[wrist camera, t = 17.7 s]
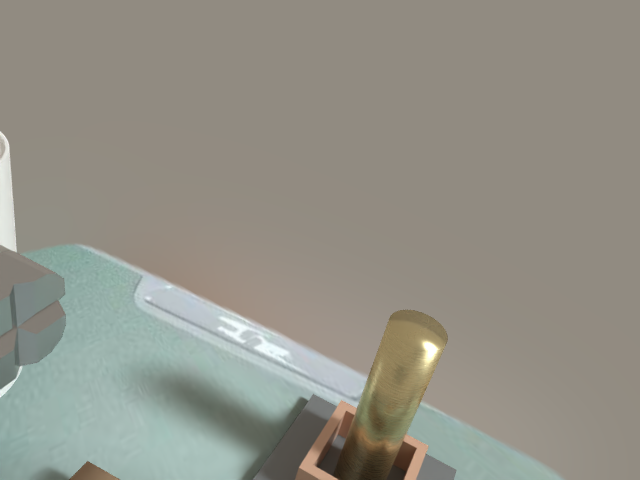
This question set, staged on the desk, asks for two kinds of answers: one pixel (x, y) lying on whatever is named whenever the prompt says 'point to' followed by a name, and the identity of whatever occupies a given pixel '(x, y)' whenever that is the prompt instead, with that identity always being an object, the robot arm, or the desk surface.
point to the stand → (339, 449)
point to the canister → (6, 212)
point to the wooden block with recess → (92, 473)
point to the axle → (391, 395)
